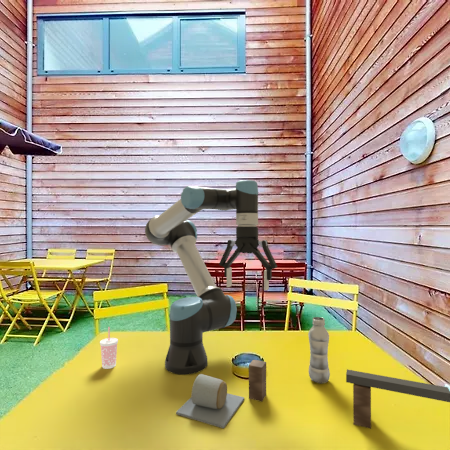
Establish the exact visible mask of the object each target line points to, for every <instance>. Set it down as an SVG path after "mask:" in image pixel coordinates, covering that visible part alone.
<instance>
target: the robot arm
mask: <svg viewBox="0 0 450 450" xmlns="http://www.w3.org/2000/svg"><path fill="white" fill-rule="evenodd" d="M258 186H259V185H258V181H255V180H252V179H246V180H245V179H244V180H237V182H236V183H235V188H228V189H227V188H214V187H206V186H199V185H188V186H185V187H184V188H183V189H182V192H181V194H180V199H179V200H177V201H176V202H175V203H173V204H172V205H171V206H170V207H169V208H167V209H166V210H165V211H164V212H162V213H161V214H159V215H155V216H153V217H152V218H150V219H149V220H148V221H147V222H146V224H145V228H144V234H145V236H146V239H147V240H148V241H149V242H151V243H152V244H153V245H155V246H170V248H171V250H172V252H173V253H175V254H177V255H178V257H179V260H180V261H181V264H182V266H183V268H184V271H185V272H186V275H187V277H188V279H189V282H190V285H192V286H191V287H192V288H193V290H194V293H195V295H196V296H187V297H182V298H179V299H176V300H175V301H173V302H172V304H170V310H169V347H168V349H167V354H166V356H165V360H164V367H165V370H166V371H168V372H169V373H172V374H175V375H184V376H185V375H193V374H196V373H200V372H201V371H204V370H205V369H206V368H207V366H208V355H207V352H206V349H205V346H204V343H203V342H204V341H203V333H207V332H211V331H215V330H218V329H224V328H226V327H228V326H230V325H232V324H233V323H234V322H235V321H236V317H237V304H236V301H235V299H234V297H233V296H232V295H229V294H225V293H224V291H223V289H222V288H221V287H220V286H219V287H218V286H217V285H216V283H215V281H214V280H213V278H212V276H211V274H210V272H209V270H208V268H207V265H206V264H205V262H204V260H203V258H202V256H201V253H200V251H199V249H198V247H197V246H196V243H197V239H198V233H197V232H198V230H197V226H196V225H195V223H194V222H193V221H191V220H189V219H190V218H192V217H193V216H194V215H196V214H198V213H199V212H201V211H203V210H217V211H232V210H233V211H234V210H236V211H235V225H237V226H236V228H235V229H236V230H235V237H236V238H235V240H233V239H227V242H226V243H227V245H226V247H225V250H224V251H223V255H222V257H221V259H220V261H219V263H218V265H219V266H220V267H223V268H224V269H223V270H224V273H223V275H224V278H226V288H230V287H232V286H233V283H232V282H233V281H232V280H233V277H232V274H233V273H232V272H233V270H232V269H233V268H232V267H231V266H232V265H233V263H234V262H235V260H237V258H238V257H239V255H240V254H253V255H254V256H255V257H256V258H257V260H258V261H259V262H260V264H262V265H263V267H264V269H265V270H263V285H264V286H263V290H264V291H268V290H269V289H270V287H269V286H270V283H269V282H270V281H271V280H272V275H273V274H272V273H273V272H272V270H275V269H277V268H278V265H277V263H276V261H275V259H274V257H273V254H272V252H271V250H270V248H269V242H268V240H266V239H264V240H259V227H258V226H257V225H259V187H258ZM234 246H236V249H235V250H234V252H233V253H232V255H231V256H230V254H231V252H232V250H233V247H234ZM259 246H260V247H261V248H262V251H263V252H264V254H265V256H266V258H265V256H264V255H263V254H262V253H261V251H260V249H259V248H258V247H259ZM229 256H230V257H229Z"/></svg>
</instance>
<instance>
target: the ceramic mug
mask: <svg viewBox="0 0 450 450" xmlns="http://www.w3.org/2000/svg"><path fill="white" fill-rule="evenodd" d="M227 393H228V385H227V382H226V381H224V380H223V379H220V378H217V377H214V376H210V375H206V374H203V373H200V374H198V375H197V376H196V378H195V379H194V381H193V384H192V388H191V396H190V398H192V402H193V404H196V405H200V406H204V407H209V408H213V409H221V408H222V407H223V405H224V403H225V400H226V396H227Z"/></svg>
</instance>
